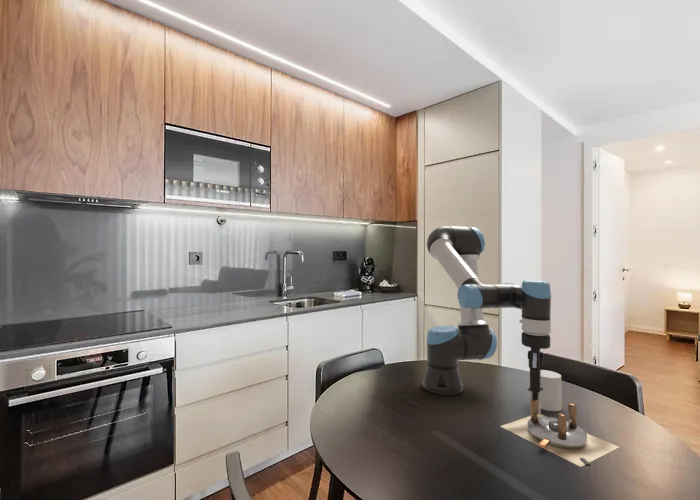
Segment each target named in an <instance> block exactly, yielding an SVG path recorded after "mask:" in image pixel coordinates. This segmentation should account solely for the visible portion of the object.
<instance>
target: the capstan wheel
mask: <svg viewBox="0 0 700 500" xmlns="http://www.w3.org/2000/svg"><path fill="white" fill-rule="evenodd" d="M567 406H568V407H567V408H568V409H567V413H568V419H567V414H565V413H560V412H559V413H557V414H556V416H557V417H551V416H546V417H539V403H538V400H537V399H531V412H530V416H531V419H529V420H528V432H529V433H530V434H531V435H532V436H533V437H534V438H536V439H537V440H539V441H541V443H540V444H539V446H538V447H539V448H542V449H544V450H546V449H545V448H546V447H547V445H551V446H555V447H559V448H565V449H580V448H583V447H585V446H586V445H587V434H588V433H587V432H586V431H585V429H583V428H582V427H581V426H579V425H578V404H576V403H572V402H569V403H568V404H567ZM567 420H568V421H567ZM586 433H587V434H586Z"/></svg>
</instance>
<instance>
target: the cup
mask: <svg viewBox="0 0 700 500" xmlns="http://www.w3.org/2000/svg"><path fill="white" fill-rule="evenodd" d="M540 387H542V388H543V390H540V391H541V410H544V411H548V412H559V411H561V410H562V405H563V404H562V403H563V401H562V399H563V398H562V396H563V395H562V393H563V392H562V375H561V374H560V373H558V372H555V371H552V370H546V369H541V385H540Z"/></svg>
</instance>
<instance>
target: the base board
mask: <svg viewBox="0 0 700 500" xmlns="http://www.w3.org/2000/svg"><path fill="white" fill-rule="evenodd" d="M539 417H547V416H546V415H544V414H541V413H540V414H539ZM529 419H531V415H528V416H526V417H523V418H520V419H517V420H514V421H511V422H508V423H505V424H502V425H500V426H499V427H501V428H502V429H504V430H506V431H509V432H510V433H513V434H514V435H517V436H518V437H520V438H522V439H524V440H527V441H529V442H530V443H532V444H534V445H536V446H538V447H539V444H540V443H541V441H539V440H537V439H536V438H534V437H533V436H532V435H531V434H530V433H529V432H528V420H529ZM586 434H587V445H586V446H585V447H583V448H580V449H565V448H559V447H555V446H551V445H547V447H546V448H545V449H544V450H546V451H547V452H550V453H552V454H554V455H556V456H558V457H560V458H562V459H564V460H565V461H567V462H569V463H572V464H574V465H575V466H578V467H580V468H582V467H584V466H591V462H593V461H595V460H597V459H600V458H602V457H603V456H605V455H608V454H609V453H611V452H613V451H615V450H617V449H619V448H620V446H619V445H615V444H614V443H611V442H609V441H606V440H604V439H601V438H599V437H597V436H594V435H592V434H589V433H587V432H586Z"/></svg>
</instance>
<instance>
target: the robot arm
mask: <svg viewBox="0 0 700 500" xmlns="http://www.w3.org/2000/svg"><path fill="white" fill-rule="evenodd" d="M426 240H427V241H426V248H427V251H428V253H429V255H430V256H431V257H432V258H433V259H435V260H437V261H438V263H439V264H440V265H441V267H442V268H443V270H444V271H445V272H446V273H447V275H448V276H449V278H450V279H451V280H452V282H453V283H454V285H455V286H456V287H457V299H458V304H459V309H460V310H459V311H460V319H461V320H460V322H459V323H458V324H457V326H454V325H450V324H449V325H436V326H434V327H432V328H430V329H428V330H427V334H426V336H427V337H426V366H427V367H426V370H425V372H424V377H423V378H422V388H423V389H424V390H425V391H427V392H429V393H432V394H434V395H435V394H436V395H441V396H455V395H459V394H461V393H462V392H463V391H464V383H463V381H462V378H461V374H460V372H459V371H460V370H459V361H468V360H469V361H471V360H473V361H475V360H480V361H481V360H486V359H491V358H492V357H493V356H494V355H495V353H496V351H497V348H498V338H497V335H496V334H495V331H494V330H493V329H492V328H490V325H489V323H488V322H487V321H486V320H485V319H484V318H485V317H484V311H483V309H493V308H494V309H505V308H506V309H507V308H509V309H511V308H512V309H513V308H515V309H519V310H521V319H520V320H519V323H520V324H521V330H522V332H521V344H522V346H524V347H527V348H530V350H528V352H527V359H528V368H529V387H527V391H529V413H531V399H537V400H538V403H539V414H541V410H542V409H541V391H540V390H543V388H542V387H540V385H541V370H543V362H544V361H543V360H544V351H541V349H543V350H547V349H550V348H551V335H550V334H551V329H552V328H551V326H552V325H551V323H552V320H551V313H552V312H551V307H552V305H551V304H552V303H551V302H552V301H551V300H552V295H551V283H550V282H548V281H547V280H539V279H538V280H537V279H536V280H535V279H526V280H524V279H523V281H522V282H521V284H516V283H511V282H510V283H509V282H505V283H504V282H503V283H500V284H499V283H497V284H493V283H492V284H491V283H490V284H489V283H487V284H485V283H483V281H482V280H481V279H480V277H479V269H478V268H479V267H478V260H479V259H480V258H481V254H483V252H484V250H485V246H486V241H485V240H486V239H485V236H484V234H483V233H482V231H481V230H480V229H479V228H477V227H473V226H449V225H448V226H447V225H446V226H443V225H442V226H439V227H437V228H435V229H433V230H432V231H431V233H430V234H429V235H428V238H427V239H426Z"/></svg>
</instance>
